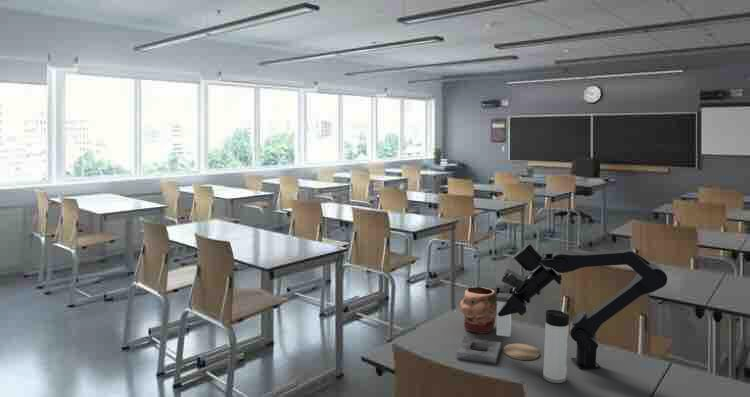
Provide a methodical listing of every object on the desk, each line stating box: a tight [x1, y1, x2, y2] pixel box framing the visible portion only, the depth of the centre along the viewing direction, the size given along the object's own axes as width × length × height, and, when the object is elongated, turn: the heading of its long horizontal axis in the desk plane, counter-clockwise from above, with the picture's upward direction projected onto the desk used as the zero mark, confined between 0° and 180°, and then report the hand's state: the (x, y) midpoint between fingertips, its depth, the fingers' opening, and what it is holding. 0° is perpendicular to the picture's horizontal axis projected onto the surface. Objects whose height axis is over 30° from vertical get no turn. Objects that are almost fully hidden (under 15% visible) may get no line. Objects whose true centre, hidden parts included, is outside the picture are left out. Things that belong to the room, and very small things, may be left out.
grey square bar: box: [496, 292, 512, 337], centre depth 169 cm, size 4×4×12 cm
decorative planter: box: [459, 286, 498, 334], centre depth 191 cm, size 20×12×14 cm, turn 142°
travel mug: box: [542, 309, 570, 384], centre depth 153 cm, size 6×7×20 cm
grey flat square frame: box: [456, 337, 502, 365], centre depth 171 cm, size 12×12×2 cm
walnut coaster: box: [503, 342, 541, 361], centre depth 171 cm, size 11×11×1 cm
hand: (499, 313), depth 169 cm, fingers closed on grey square bar, 4 cm apart
